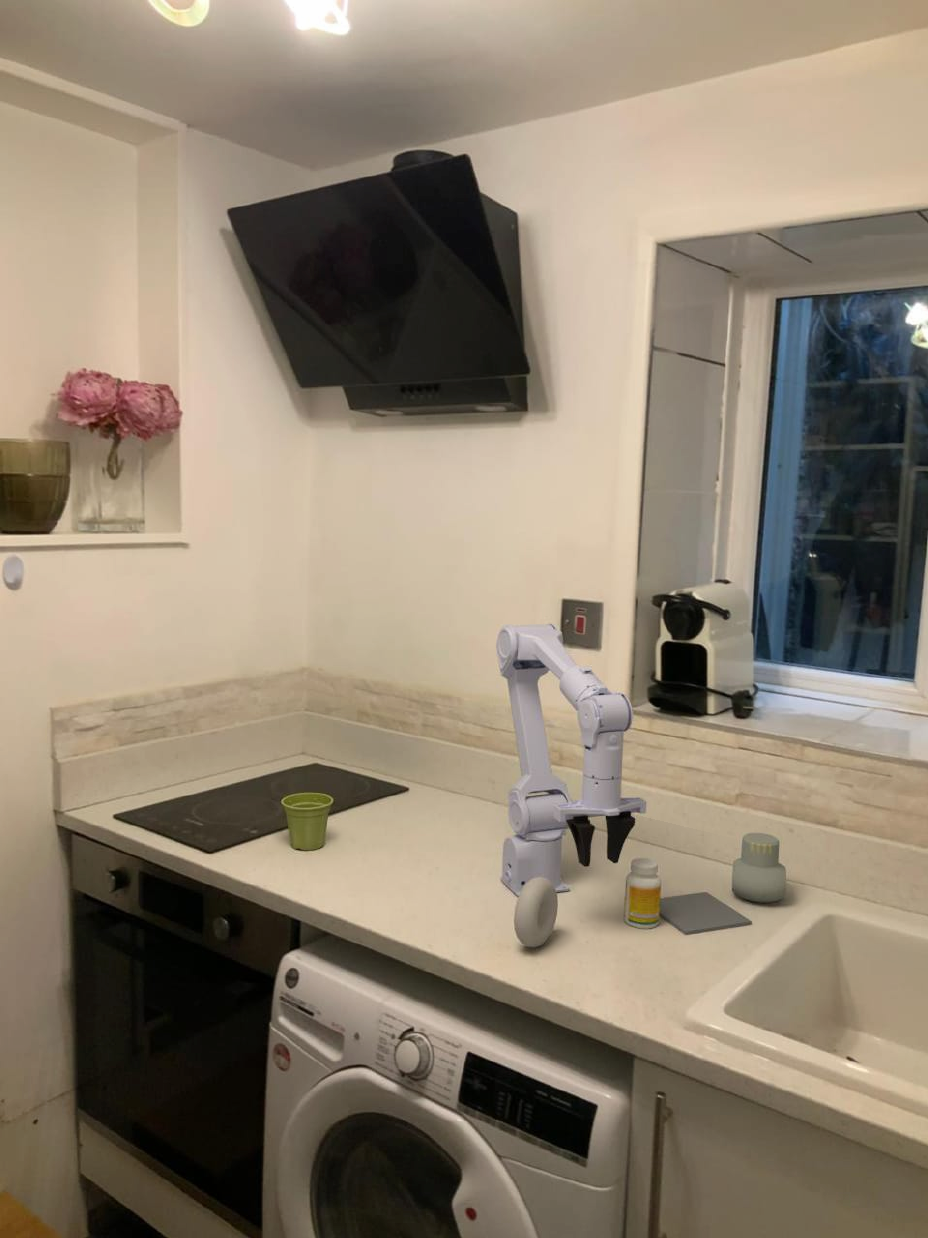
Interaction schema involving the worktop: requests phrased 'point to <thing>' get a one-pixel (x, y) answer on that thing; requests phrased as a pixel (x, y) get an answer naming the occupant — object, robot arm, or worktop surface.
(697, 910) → the mat
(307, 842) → the plant pot
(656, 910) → the supplement bottle
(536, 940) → the donut
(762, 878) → the air freshener
